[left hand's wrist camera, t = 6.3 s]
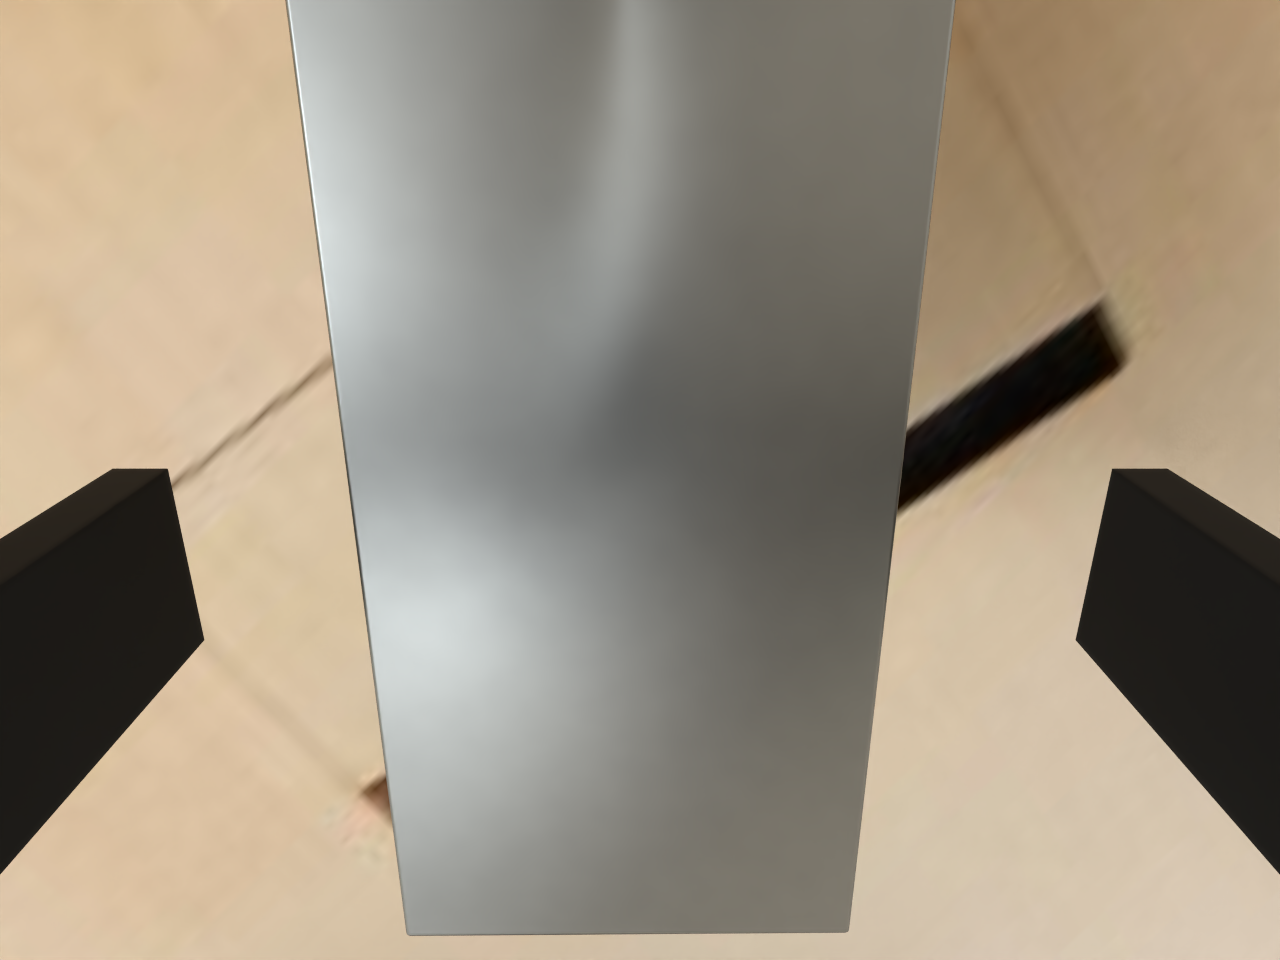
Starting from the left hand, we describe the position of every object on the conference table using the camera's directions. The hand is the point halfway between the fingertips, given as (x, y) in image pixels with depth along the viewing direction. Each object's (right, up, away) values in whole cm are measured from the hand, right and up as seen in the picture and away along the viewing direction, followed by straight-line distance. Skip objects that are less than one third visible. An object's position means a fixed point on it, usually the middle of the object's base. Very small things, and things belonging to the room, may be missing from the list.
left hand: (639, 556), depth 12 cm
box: (0, +9, +3) cm, 10 cm away
